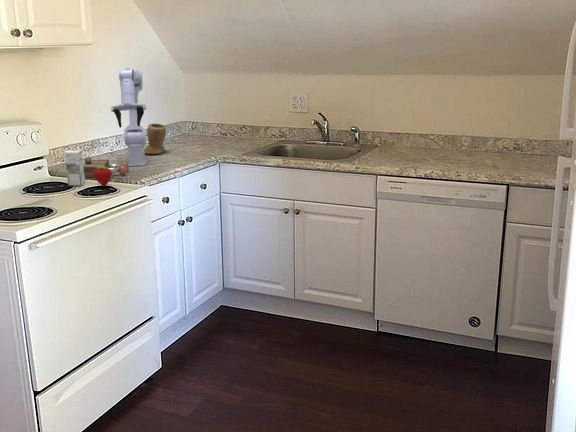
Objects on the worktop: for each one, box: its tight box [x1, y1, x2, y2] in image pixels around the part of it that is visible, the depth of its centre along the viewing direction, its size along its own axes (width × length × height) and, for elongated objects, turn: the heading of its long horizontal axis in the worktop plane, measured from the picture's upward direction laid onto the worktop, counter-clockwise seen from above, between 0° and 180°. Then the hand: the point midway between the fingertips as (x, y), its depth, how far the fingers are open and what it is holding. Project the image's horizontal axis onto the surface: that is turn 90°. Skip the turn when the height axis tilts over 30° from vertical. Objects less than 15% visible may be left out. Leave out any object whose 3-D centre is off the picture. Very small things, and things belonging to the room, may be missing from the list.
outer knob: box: [107, 165, 127, 175], centre depth 282 cm, size 4×12×4 cm, turn 95°
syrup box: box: [64, 148, 86, 187], centre depth 266 cm, size 6×6×14 cm
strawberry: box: [93, 162, 113, 187], centre depth 263 cm, size 6×8×10 cm
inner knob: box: [107, 161, 130, 172], centre depth 289 cm, size 4×12×4 cm, turn 95°
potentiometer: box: [84, 154, 92, 164], centre depth 283 cm, size 3×3×4 cm
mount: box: [83, 159, 110, 180], centre depth 285 cm, size 15×9×5 cm, turn 5°
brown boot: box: [144, 122, 167, 155], centre depth 328 cm, size 15×12×15 cm
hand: (129, 126), depth 271 cm, fingers open, 7 cm apart
